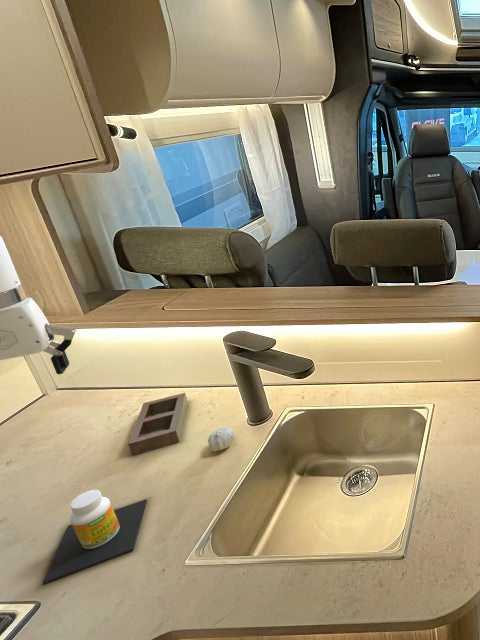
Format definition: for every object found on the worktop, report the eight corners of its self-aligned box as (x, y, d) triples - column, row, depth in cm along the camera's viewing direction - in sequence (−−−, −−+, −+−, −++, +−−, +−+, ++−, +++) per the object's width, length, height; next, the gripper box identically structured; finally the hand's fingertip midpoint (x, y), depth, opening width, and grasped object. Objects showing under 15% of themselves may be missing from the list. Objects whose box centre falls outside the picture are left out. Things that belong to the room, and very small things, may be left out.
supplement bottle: (97, 552, 77) (80, 514, 73) (74, 546, 77) (56, 509, 74) (127, 525, 82) (113, 488, 78) (105, 520, 82) (89, 484, 79)
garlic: (225, 456, 99) (221, 439, 97) (203, 455, 99) (198, 438, 97) (242, 437, 104) (238, 420, 103) (221, 436, 105) (216, 419, 103)
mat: (43, 584, 72) (42, 582, 72) (69, 527, 82) (68, 525, 81) (133, 550, 78) (132, 548, 77) (147, 500, 87) (146, 499, 87)
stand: (132, 455, 98) (128, 444, 97) (146, 413, 111) (143, 402, 110) (179, 441, 103) (175, 430, 101) (188, 402, 116) (185, 392, 115)
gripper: (-96, 318, 68) (-50, 403, 73) (52, 297, 76) (82, 375, 82) (-67, 300, 74) (-27, 380, 80) (67, 282, 82) (94, 356, 88)
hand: (28, 377), depth 81 cm, fingers open, 9 cm apart
